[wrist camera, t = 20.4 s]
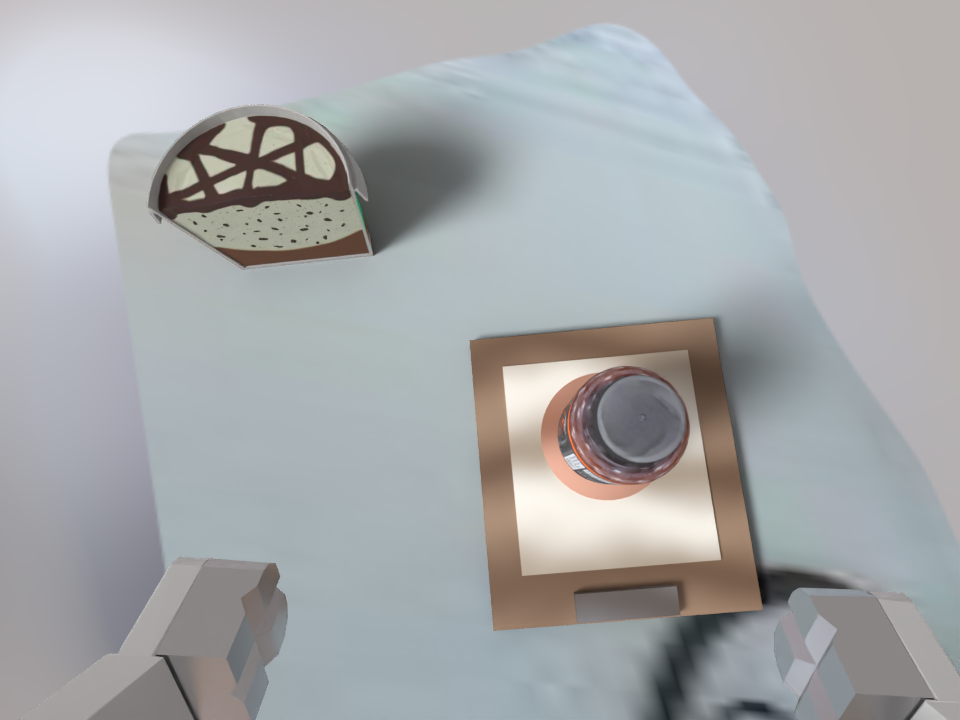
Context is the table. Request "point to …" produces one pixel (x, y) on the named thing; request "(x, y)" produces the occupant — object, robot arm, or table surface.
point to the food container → (263, 189)
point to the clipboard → (607, 486)
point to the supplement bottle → (624, 427)
